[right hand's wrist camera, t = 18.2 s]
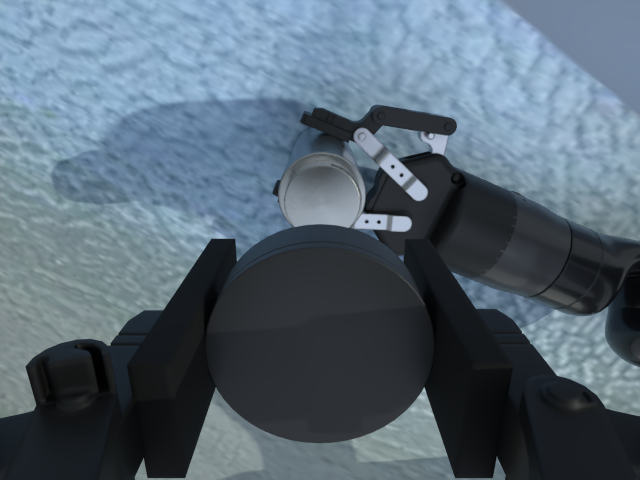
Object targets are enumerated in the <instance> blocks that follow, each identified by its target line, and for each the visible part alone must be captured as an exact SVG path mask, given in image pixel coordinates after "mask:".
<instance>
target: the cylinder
mask: <svg viewBox="0 0 640 480" xmlns="http://www.w3.org/2000/svg"><path fill="white" fill-rule="evenodd" d="M278 200H279V205H280V209H281V211H282V213H283V215H284V217H285V219H286V220H287V221H288V222H289V223H290V224H291V225H292V226H293V227H298V226H303V225H314V224H327V225H337V226H342V227H347V228H350V227H352V226H353V225H354V224H355V223H356V222H357V220H358V219H359V217H360V216H361V214H362V212H363V210H364V207H365V203H366V187H365V182H364V180H363V177H362V175H361V172H360V170H359V168H358V165H357V163H356V160H355V158H354V156H353V153H352V151H351V149H350V146H349V144H348V143H347V142H345V141H343V140H340V139H338V138H336V137H334V136H331V135H329V134H326V133H324V132H322V131H319V130H317V129H315V128H312V127H309V128H307V129H305V130H304V131H303V132H302V133H301V134H300V135H299V136H298V138H297V140H296V142H295V145H294V147H293V150H292V152H291V155H290V157H289V160H288V163H287V165H286V168H285V170H284V173H283V175H282V178H281V181H280V184H279V189H278Z"/></svg>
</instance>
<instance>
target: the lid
mask: <svg viewBox="0 0 640 480" xmlns="http://www.w3.org/2000/svg"><path fill="white" fill-rule="evenodd" d="M205 346H206V356H207V364H208V369H209V372H210V375H211V378H212V380H213V382H214V384H215V386H216V388H217V390H218V391H219V393H220V394H221V396H222V397H223V398H224V400H225V401H226V402H227V403H228V404H229V405H230V407H231V408H232V409H233V410H234V411H235V412H237V413H238V414H239V415H240V416H241V417H242V418H244V419H245V420H247V421H248V422H250V423H251V424H253V425H254V426H256V427H258V428H260V429H262V430H264V431H266V432H268V433H271V434H273V435H276V436H278V437H282V438H286V439H289V440H294V441H300V442H309V443H333V442H340V441H346V440H350V439H354V438H358V437H361V436H364V435H367V434H370V433H372V432H374V431H376V430H378V429H380V428H382V427H384V426H386V425H387V424H389V423H390V422H392V421H394V420H395V419H396V418H398V417H399V416H400V415H401V414H402V413H404V412H405V411H406V410H407V409H408V408H409V407H410V406H411V405H412V403H413V402H414V401H415V400H416V399H417V397H418V396H419V394H420V393H421V392H422V390H423V388H424V386H425V384H426V382H427V380H428V378H429V375H430V372H431V370H432V366H433V358H434V349H435V334H434V327H433V324H432V320H431V316H430V314H429V312H428V310H427V307H426V305H425V303H424V301H423V299H422V296H421V294H420V292H419V290H418V288H417V286H416V283H415V281H414V279H413V277H412V275H411V273H410V272H409V270H408V269H407V267H406V265H405V264H404V263H403V262H402V260H401V259H400V258H399V257H398V256H397V255H396V254H395V253H394V252H393V251H392V250H391V249H389V248H388V247H387V246H386V245H384V244H383V243H381V242H380V241H378V240H377V239H375V238H373V237H371V236H369V235H367V234H365V233H363V232H360V231H357V230H354V229H351V228H347V227H342V226H337V225H327V224H314V225H303V226H298V227H292V228H289V229H286V230H283V231H280V232H277V233H275V234H273V235H271V236H269V237H267V238H265V239H263V240H262V241H260V242H259V243H257V244H255V245H254V246H253V247H252V248H251V249H249V250H248V251H247V252H246V253H245V254H244V255H243V256H242V257H241V258H240V259H239V260H238V262H237V263H236V264H235V266H234V267H233V269H232V270H231V272H230V273H229V275H228V277H227V279H226V282H225V284H224V286H223V288H222V290H221V292H220V294H219V297H218V299H217V301H216V303H215V305H214V307H213V310H212V312H211V314H210V317H209V320H208V324H207V327H206V335H205Z"/></svg>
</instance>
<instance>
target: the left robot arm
mask: <svg viewBox="0 0 640 480" xmlns="http://www.w3.org/2000/svg"><path fill="white" fill-rule="evenodd" d="M300 122H301V123H303V124H305V125H307V126H310V127H312V128H315V129H317V130H319V131H322V132H324V133H326V134H329V135H331V136H334V137H336V138H338V139H340V140H343V141H345V142H347V143H348V142H349V140H351V141H353V142H355V143H357V144H358V145H359V146H360V147H361V148H362V149H363V150H364V151H365V152H366V153H367V154H368V155H369V156H370V157H371V158H372V159H373V160H374V161H375V162H376V163H377V164H378V165H379V166H380V167H379V170H378V172H377V174H376V177H375V182H374V186H373V187H372V189H371V190H370V191H369V192H368V193H367V195H366V203H365V207H364V210H363V212H362V214H361V216H360V217H359V219H358V220H357V222H356V223H355V224H354V225H353V226H352V227H350V228H352V229H371V230H373V231H374V232H375V234H376V236H377V237H378V239H379V241H380V242H381V243H383V244H384V245H386V246H387V247H388V248H389V249H391V250H392V251H393V252H394V253H395V254H396V255H397V256H399V255H404V248H405V239H429V240H430V242H431V243H432V244H433V246H434V247H435V249H436V250H437V252H438V253H439V255H440V256H441V258H442V259H443V261H444V262H445V264H446V265H447V267H448V268H449V270H450V271H451V272H453V273H456V274H458V275H461V276H463V277H466V278H469V279H471V280H474V281H476V282H479V283H481V284H484V285H486V286H489V287H491V288H494V289H497V290H501V291H505V292H509V293H513V294H517V295H520V296H523V297H525V298H528V299H531V300H533V301H536V302H538V303H541V304H543V305H546V306H548V307H550V308H553V309H555V310H558V311H561V312H563V313H566V314H570V315H574V316H590V315H593V314H596V313H599V312H601V311H602V310H604V309H605V308H606V307H608V312H607V318H606V324H605V336H606V340H607V342H608V344H609V346H610V348H611V349H612V350H613V351H614V352H615V353H616V354H617V355H618V356H619V357H621V358H622V359H623V360H625V361H627V362H628V363H630V364H633V365H635V366H638V367H640V241H637V240H631V239H625V238H619V237H614V236H609V235H605V234H601V233H597V232H595V231H593V230H591V229H588V228H586V227H584V226H581V225H579V224H577V223H574V222H572V221H570V220H567V219H565V218H563V217H561V216H559V215H557V214H555V213H553V212H551V211H550V210H548V209H547V208H545V207H543V206H542V205H540V204H538V203H536V202H534V201H532V200H529V199H527V198H525V197H523V196H522V195H521V194H519V193H516V192H513V191H509V190H506V189H504V188H502V187H499V186H497V185H495V184H492V183H490V182H488V181H485V180H483V179H481V178H478V177H476V176H474V175H472V174H469V173H467V172H465V171H462V170H460V169H458V168H456V167H454V166H452V165H451V163H450V162H449V161H448V159H447V158H446V157H445V156H444V153H445V150H446V146H447V142H448V138H449V135H452V134H453V133H454V132H455V131H456V128H457V124H456V122H455V120H454V119H452V118H449V117H445V116H442V115H437V114H431V113H425V112H419V111H413V110H407V109H400V108H394V107H388V106H382V105H374V106H372V107H371V109H370V110H369V112H368V113H367V114H366V115H365V116H364V117H363V118H362V119H361V120H359V121H351V120H349V119H347V118H344V117H342V116H340V115H337V114H335V113H333V112H330V111H328V110H326V109H324V108H314V110H313V113H312V114H311V113H309V112H306V111H304V113H303V115H302V118H301V120H300ZM382 125H384V126H391V127H397V128H403V129H409V130H415V131H418V137H419V139H420V140H421V141H423V142H425V143H427V144H428V145H429V151H428V152H424V153H420V154H416V155H411V156H407V157H403V158H399V159H397V158H396V157H395V156H394V155H393V154H392V153H391V152H390V151H389V150H388V149H387V148H386V147H385V146H384V145H383V144H382V143H381V142H380V141H379V140H378V139H377V138H376V137H375V136H374V134H375V133H376V132H377V131H378V130H379V129H380V127H381V126H382ZM280 181H281V180H277V182H276V184H275V187H274V190H273V192H272V193H273V194H274V195H276V196H278V189H279V184H280ZM278 203H279V200H278ZM366 220H367V221H366Z"/></svg>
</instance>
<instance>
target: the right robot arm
mask: <svg viewBox="0 0 640 480" xmlns="http://www.w3.org/2000/svg"><path fill="white" fill-rule="evenodd" d="M236 263H237V258H236V244H235V239H211V240H210V242H209V243H208V245H207V246H206V248H205V249H204V251H203V252H202V254H201V255H200V257H199V258H198V260H197V261H196V263H195V264H194V266H193V267H192V269H191V270H190V272H189V273H188V275H187V276H186V278H185V279H184V281H183V282H182V284H181V285H180V287H179V288H178V290H177V291H176V293H175V294H174V296H173V297H172V298H171V300H170V301H169V303H168V304H167V306H166V307H165V309H164V310H144V311H143V312H141V313H140V314H138V315H137V316H135V317H134V318H132V319H130V320H129V321H128V322H127V323H126V324H125V326H124V327H123V328H122V330H121V331H120V332H119V335H117V336H116V337H115V338H114V340H113V341H112V342H111V346H107V345H106V344H105V343H103V342H102V341H98V340H93V339H81V340H73V341H69V342H65V343H61V344H58V345H56V346H53V347H51V348H48V349H46V350H44V351H43V352H41V353H40V354H38V355H37V356H35V357H34V358H33V359H32V360H31V361H30V362H29V363H28V364H27V365H26V370H27V373H28V377H29V380H30V384H31V387H32V391H33V395H34V398H35V402H36V407H35V410H34V411H31V412H28V413H24V414H19V415H14V416H10V417H5V418H0V480H135V475H136V473H137V471H138V469H139V467H140V464H141V462H142V460H143V458H144V461H145V467H146V472H147V477H148V478H185V477H186V474H187V471H188V468H189V465H190V462H191V459H192V456H193V453H194V450H195V447H196V444H197V441H198V438H199V435H200V432H201V429H202V426H203V423H204V420H205V417H206V414H207V411H208V408H209V405H210V402H211V400H212V397H213V394H214V391H215V388H216V386H215V384H214V382H213V380H212V378H211V375H210V372H209V369H208V364H207V356H206V346H205V335H206V327H207V324H208V320H209V317H210V314H211V312H212V310H213V307H214V305H215V303H216V301H217V299H218V297H219V294H220V292H221V290H222V288H223V286H224V284H225V282H226V279H227V277H228V275H229V273H230V272H231V270H232V269H233V267H234V266H235V264H236ZM403 263H404V264H405V265H406V267H407V269H408V270H409V272H410V273H411V275H412V277H413V279H414V281H415V283H416V286H417V288H418V290H419V292H420V294H421V296H422V299H423V301H424V303H425V305H426V307H427V310H428V312H429V314H430V316H431V320H432V324H433V327H434V334H435V349H434V358H433V366H432V370H431V372H430V375H429V378H428V380H427V382H426V384H425V386H424V387H425V390H426V393H427V396H428V399H429V402H430V405H431V408H432V411H433V414H434V417H435V419H436V422H437V425H438V428H439V431H440V434H441V437H442V440H443V443H444V446H445V449H446V452H447V455H448V458H449V461H450V464H451V467H452V470H453V473H454V476H455V478H493V473H494V468H495V463H496V457H498V459H499V461H500V464H501V466H502V468H503V470H504V472H505V474H506V477H505V480H640V416H635V415H630V414H626V413H621V412H616V411H612V410H609V409H605V407H604V405H603V403H602V402H601V401H600V399H599V398H598V397H597V395H596V394H594V393H593V392H592V391H590V390H589V389H588V388H586V387H585V386H583V385H581V384H579V383H577V382H575V381H572V380H570V379H567V378H563V377H559V376H557V375H556V374H555V373H554V371H553V370H552V369H551V368H550V366H549V365H548V364H547V363H546V361H545V360H544V359H543V358H542V356H541V355H540V354H539V353H538V351H537V350H536V349H535V347H534V346H533V345H532V344H530V341H529V340H528V339H527V337H526V336H525V335H524V334H522V331H521V330H520V329H519V327H518V326H517V325H516V324H515V322H514V321H513V320H512V319H511V318H509V317H508V316H506V315H505V314H503V313H501V312H500V311H498V310H497V309H476V308H475V307H474V305H473V304H472V302H471V301H470V300H469V298H468V297H467V295H466V294H465V292H464V291H463V289H462V288H461V286H460V285H459V283H458V282H457V280H456V279H455V277H454V276H453V274H452V273H451V271H450V270H449V268H448V267H447V265H446V264H445V262H444V261H443V259H442V258H441V256H440V255H439V253H438V252H437V250H436V249H435V247H434V246H433V244H432V243H431V242H430V240H429V239H405V248H404V262H403Z"/></svg>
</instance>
